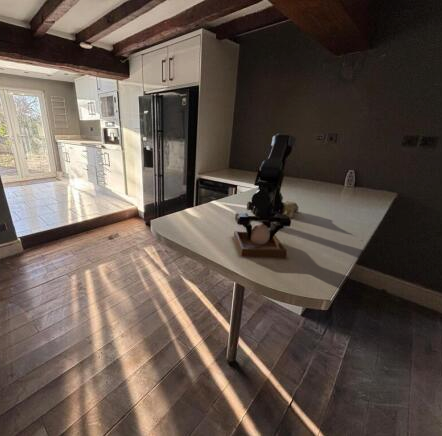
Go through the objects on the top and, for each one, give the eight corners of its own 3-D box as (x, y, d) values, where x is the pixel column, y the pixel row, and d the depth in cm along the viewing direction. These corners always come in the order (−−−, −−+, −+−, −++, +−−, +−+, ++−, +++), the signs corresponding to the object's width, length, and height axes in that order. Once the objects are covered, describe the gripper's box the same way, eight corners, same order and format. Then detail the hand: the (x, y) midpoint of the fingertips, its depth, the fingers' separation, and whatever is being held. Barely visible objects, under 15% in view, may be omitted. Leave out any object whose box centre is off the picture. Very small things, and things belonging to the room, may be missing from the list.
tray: (271, 239, 95) (272, 232, 94) (285, 258, 82) (287, 250, 80) (233, 237, 95) (234, 231, 94) (241, 256, 82) (242, 248, 81)
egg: (272, 247, 86) (276, 226, 83) (255, 249, 84) (258, 228, 81) (260, 238, 92) (264, 219, 89) (244, 240, 90) (247, 221, 87)
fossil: (277, 206, 134) (293, 196, 128) (288, 220, 132) (304, 210, 126) (269, 209, 123) (286, 198, 117) (280, 224, 120) (298, 214, 115)
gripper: (283, 195, 89) (276, 231, 95) (234, 193, 89) (230, 230, 95) (296, 204, 78) (286, 244, 84) (240, 202, 79) (235, 243, 85)
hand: (258, 240), depth 87 cm, fingers closed on egg, 7 cm apart
